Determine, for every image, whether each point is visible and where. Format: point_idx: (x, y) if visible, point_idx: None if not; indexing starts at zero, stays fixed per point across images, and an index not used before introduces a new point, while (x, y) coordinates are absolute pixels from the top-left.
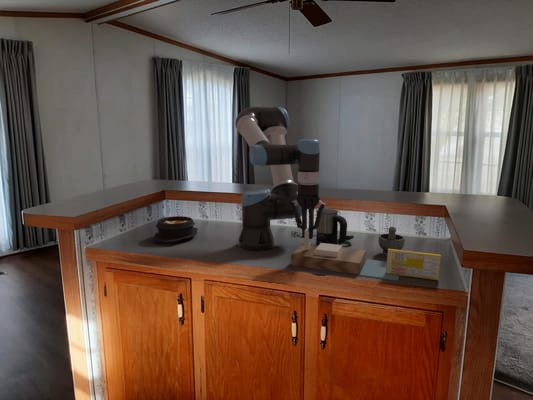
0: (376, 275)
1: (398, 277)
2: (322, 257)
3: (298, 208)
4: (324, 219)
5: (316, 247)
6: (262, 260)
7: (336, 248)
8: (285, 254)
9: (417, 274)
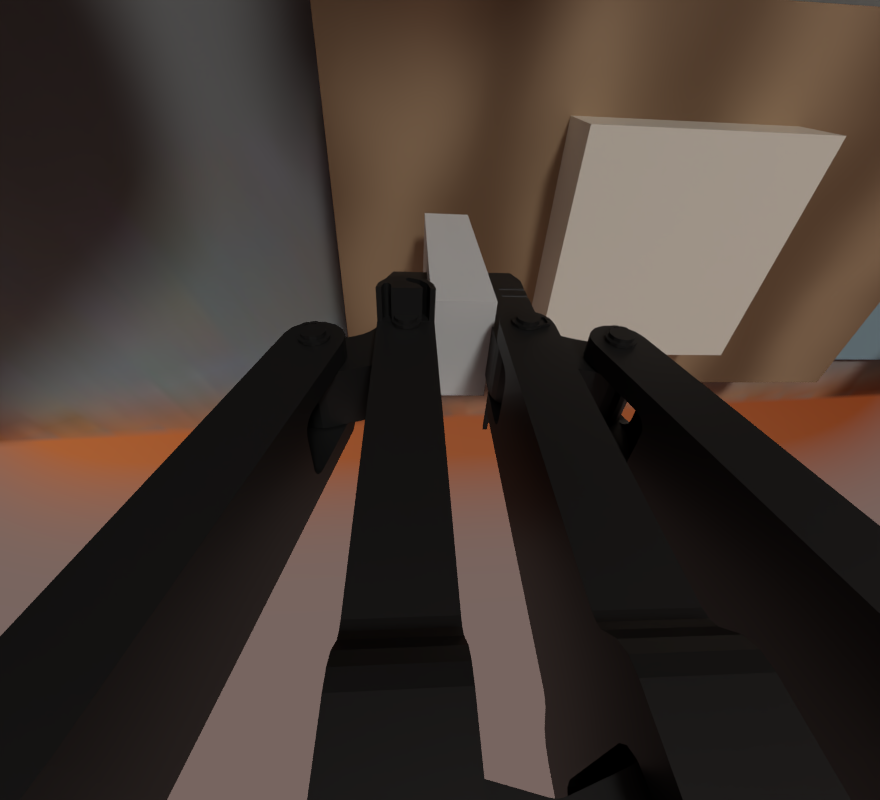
0: (859, 343)
1: None
2: None
3: (71, 726)
4: None
5: (518, 110)
6: (137, 320)
7: (733, 276)
8: (187, 104)
9: None
